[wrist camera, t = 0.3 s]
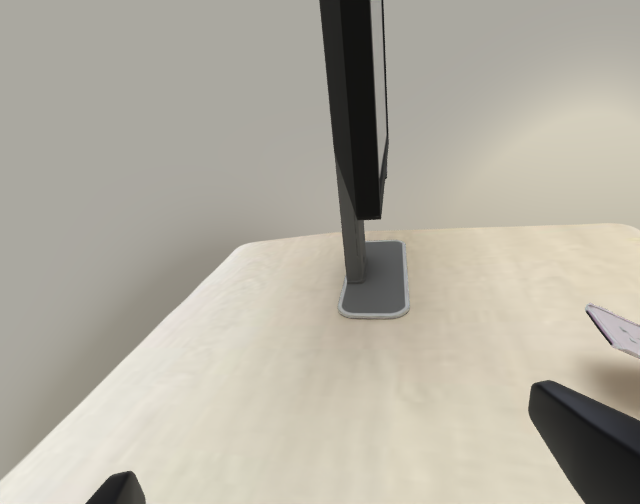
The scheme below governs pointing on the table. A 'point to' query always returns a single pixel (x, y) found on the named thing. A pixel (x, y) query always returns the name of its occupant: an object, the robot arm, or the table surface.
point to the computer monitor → (362, 156)
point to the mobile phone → (616, 329)
